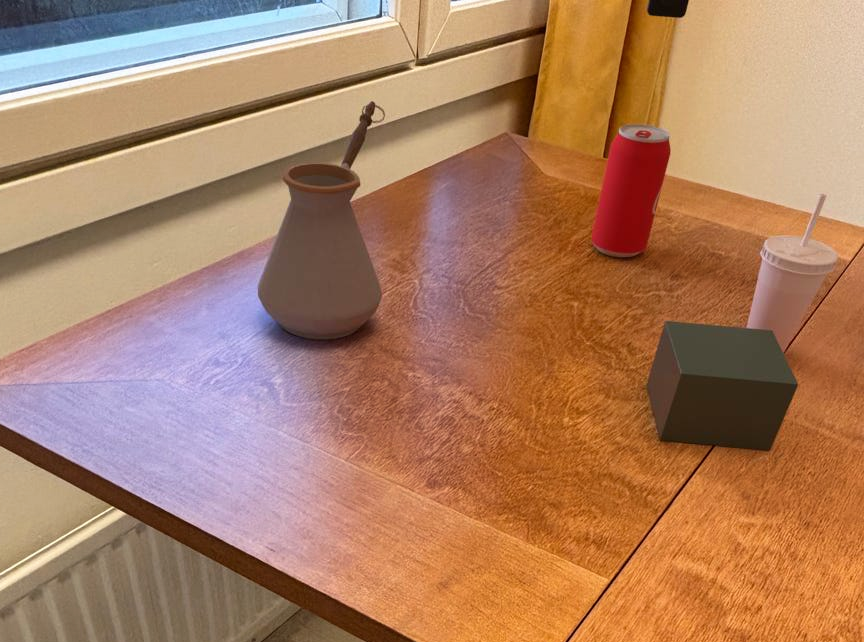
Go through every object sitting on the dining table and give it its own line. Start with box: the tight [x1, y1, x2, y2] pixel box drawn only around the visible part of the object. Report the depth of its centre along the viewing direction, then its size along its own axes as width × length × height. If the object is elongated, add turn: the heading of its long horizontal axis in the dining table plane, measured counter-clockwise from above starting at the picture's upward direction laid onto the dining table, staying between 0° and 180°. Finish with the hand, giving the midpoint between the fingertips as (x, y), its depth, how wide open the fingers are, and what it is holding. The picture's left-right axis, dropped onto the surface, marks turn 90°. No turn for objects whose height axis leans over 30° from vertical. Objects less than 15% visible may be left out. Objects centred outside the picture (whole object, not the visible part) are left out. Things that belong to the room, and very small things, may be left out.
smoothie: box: [746, 193, 839, 353], centre depth 80 cm, size 6×6×14 cm
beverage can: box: [590, 123, 672, 258], centre depth 96 cm, size 6×6×12 cm
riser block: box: [645, 320, 799, 452], centre depth 74 cm, size 9×9×6 cm
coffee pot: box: [257, 100, 386, 340], centre depth 82 cm, size 21×12×15 cm, turn 164°
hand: (656, 4), depth 79 cm, fingers open, 9 cm apart
